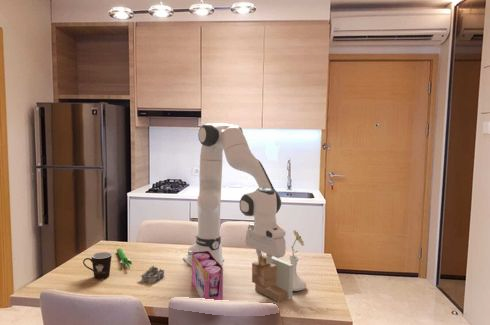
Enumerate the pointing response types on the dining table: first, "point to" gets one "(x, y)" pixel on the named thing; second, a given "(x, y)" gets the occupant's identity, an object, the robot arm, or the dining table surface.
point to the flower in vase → (297, 281)
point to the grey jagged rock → (149, 275)
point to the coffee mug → (100, 264)
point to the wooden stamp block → (264, 273)
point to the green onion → (123, 257)
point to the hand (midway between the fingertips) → (263, 262)
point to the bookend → (280, 281)
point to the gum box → (207, 275)
